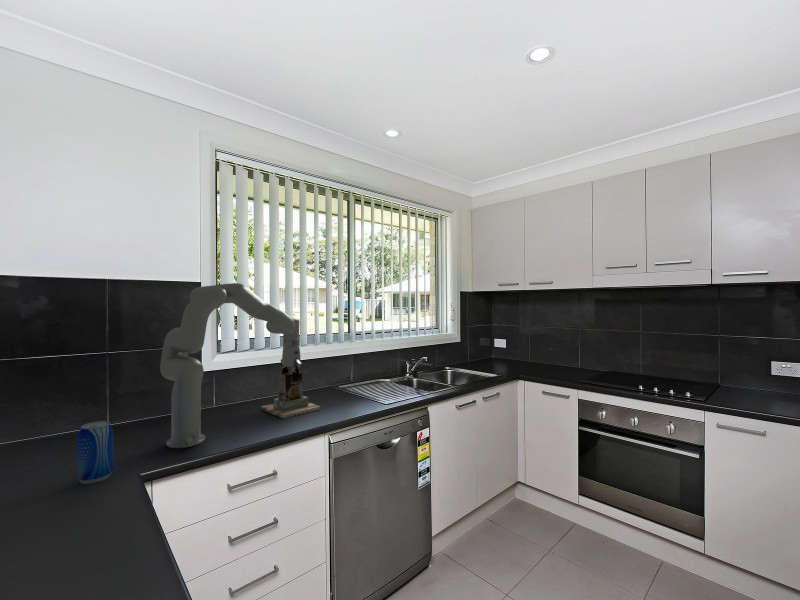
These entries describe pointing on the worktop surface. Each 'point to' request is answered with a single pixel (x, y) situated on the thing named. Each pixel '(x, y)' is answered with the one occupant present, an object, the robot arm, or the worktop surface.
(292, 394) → the coffee box
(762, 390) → the worktop surface
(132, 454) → the worktop surface
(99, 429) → the beer can
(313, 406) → the collar board
